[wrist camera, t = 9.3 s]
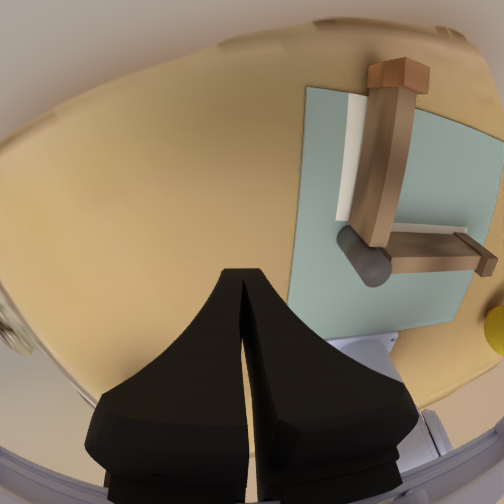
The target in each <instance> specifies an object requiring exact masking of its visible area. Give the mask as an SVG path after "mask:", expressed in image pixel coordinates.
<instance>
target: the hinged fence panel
mask: <svg viewBox="0 0 504 504" xmlns="http://www.w3.org/2000/svg"><path fill="white" fill-rule="evenodd" d="M429 74H430V67H428V66H426V65H423V64H421V63H419V62H416V61H414V60H412V59H409V58H407V57H404V58H398V59H394V60H389V61H384V62H380V63H376V64H372V65H369V66H368V78H367V88H369V97H368V106H367V114H366V122H365V129H364V137H363V143H362V150H361V156H360V162H359V168H358V174H357V179H356V185H355V190H354V195H353V200H352V205H351V210H350V215H349V220H348V223H349V224H350V226H351V227H352V228H353V229H354V230H355V231H356V232H357V233H358V234H359V235H360V237H361V238H362V239H363V240H364V241H365V242H366V243H367V244H368V246H369V247H384V248H386V247H387V243H388V240H389V236H390V233H391V229H392V225H393V222H394V218H395V214H396V210H397V206H398V202H399V197H400V193H401V189H402V184H403V179H404V174H405V169H406V164H407V159H408V153H409V148H410V141H411V135H412V128H413V121H414V113H415V104H416V95H417V94H428V88H429Z"/></svg>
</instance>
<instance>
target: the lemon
mask: <svg viewBox="0 0 504 504" xmlns="http://www.w3.org/2000/svg"><path fill="white" fill-rule="evenodd" d="M484 333H485V337H486V340H487V342H488V343H489V345H490V346H491V347H492V349H493V350H494V351H496V352H497V353H498V354H500V355H502V356H504V305H501V306H497V307H496V308H494V309H490V310H489V311H488V312H487V318H486V320H485V325H484Z"/></svg>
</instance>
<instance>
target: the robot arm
mask: <svg viewBox="0 0 504 504" xmlns="http://www.w3.org/2000/svg"><path fill="white" fill-rule="evenodd" d="M397 337H398V332H397V331H392V332H385V333H377V334H369V335H360V336H351V337H341V338H330V339H326V340H324V339H323V338H321V337H320V336H319V335H317V334H316V333H315V332H314V331H313V330H312V329H310V328H309V327H308V326H307V325H306V324H305V323H304V322H303V321H302V320H301V319H300V318H299V317H298V316H297V315H296V314H295V313H294V312H293V311H292V310H291V309H290V308H289V306H288V305H287V304H286V303H285V302H284V301H283V299H282V298H281V297H280V296H279V295H278V293H277V292H276V291H275V289H274V288H273V287H272V285H271V284H270V282H269V281H268V280H267V278H266V276H265V275H264V273H263V272H262V270H261V269H260V268H234V269H224V270H222V271H221V275H220V277H219V280H218V282H217V284H216V286H215V288H214V289H213V291H212V293H211V294H210V296H209V298H208V299H207V301H206V303H205V304H204V306H203V307H202V308H201V310H200V311H199V313H198V314H197V315H196V317H195V318H194V319H193V321H192V322H191V323H190V324H189V326H188V327H187V328H186V329H185V330H184V331H183V333H182V334H181V335H180V336H179V337H178V338H177V339H176V340H175V341H174V342H173V343H172V344H171V345H170V346H169V347H168V348H167V349H166V350H165V351H164V352H163V353H161V354H160V355H159V356H158V357H157V358H156V359H154V360H153V361H152V362H151V363H149V364H148V365H147V366H145V367H144V368H143V369H142V370H140V371H139V372H138V373H136V374H135V375H134V376H132V377H131V378H129V379H127V380H126V381H124V382H123V383H121V384H119V385H118V386H116V387H114V388H113V389H111V390H109V391H107V392H106V393H104V394H102V396H101V398H100V400H99V402H98V404H97V406H96V408H95V411H94V413H93V416H92V419H91V422H90V426H89V429H88V433H87V436H86V440H85V444H84V445H85V449H86V451H87V452H88V454H89V455H90V456H91V457H92V458H93V459H94V460H95V461H96V462H97V463H98V464H100V465H101V466H102V467H103V468H104V469H106V471H108V472H109V473H110V474H111V476H110V482H109V488H105V487H101V486H97V485H94V484H91V483H87V482H84V481H81V480H78V479H75V478H72V477H69V476H66V475H63V474H61V473H58V472H55V471H53V470H50V469H48V468H45V467H43V466H40V465H38V464H36V463H34V462H31V461H29V460H27V459H25V458H23V457H21V456H19V455H17V454H15V453H13V452H11V451H9V450H7V449H5V448H3V447H1V446H0V504H497V503H498V502H499V501H500V500H501V499H502V498H503V497H504V417H503V418H502V419H501V420H500V421H499V422H498V423H497V424H496V425H495V427H493V428H491V429H490V430H488V431H487V432H485V433H483V434H482V435H480V436H478V437H477V438H475V439H473V440H472V441H470V442H468V443H466V444H465V445H462V446H460V447H459V448H457V449H455V450H453V449H452V446H451V443H450V441H449V438H448V436H447V434H446V431H445V429H444V427H443V425H442V423H441V421H440V420H439V417H438V415H437V414H436V412H435V411H432V410H428V409H425V410H423V411H422V412H421V413H422V415H423V418H424V420H425V423H424V421H423V419H422V417H421V415H420V413H419V410H418V408H417V406H416V405H415V404H414V402H413V399H412V397H411V395H410V393H409V392H408V390H407V388H406V386H405V384H404V382H403V380H402V378H401V376H400V374H399V372H398V370H397V368H396V366H395V364H394V363H393V361H392V359H391V357H390V355H389V354H390V352H391V350H392V348H393V346H394V343H395V341H396V339H397ZM242 339H243V346H244V352H245V358H246V364H247V370H248V376H249V382H250V389H251V397H252V411H253V427H254V443H255V460H256V478H257V497H258V502H255V503H245V493H246V487H247V477H248V465H249V439H248V425H247V416H246V406H245V396H244V386H243V374H242V362H241V348H242ZM425 424H426V425H425ZM426 426H427V428H426ZM427 429H428V430H427ZM428 431H429V432H428ZM438 455H439V456H438Z"/></svg>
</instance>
